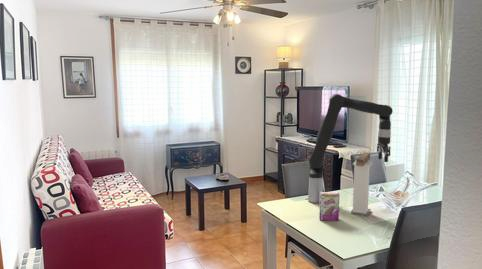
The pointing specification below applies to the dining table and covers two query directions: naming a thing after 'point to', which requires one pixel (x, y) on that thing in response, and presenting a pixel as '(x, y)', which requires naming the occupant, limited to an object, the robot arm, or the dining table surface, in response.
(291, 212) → the dining table surface
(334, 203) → the candy bar box
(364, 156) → the walnut bar
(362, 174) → the shelf post
